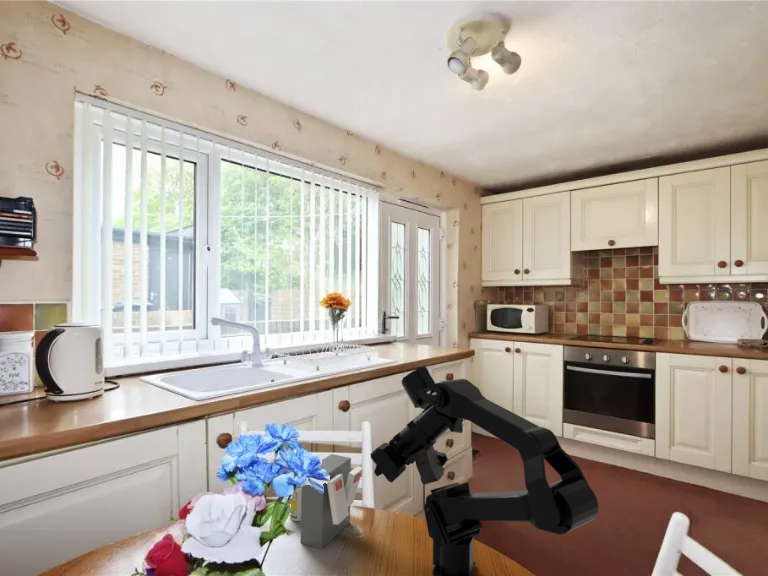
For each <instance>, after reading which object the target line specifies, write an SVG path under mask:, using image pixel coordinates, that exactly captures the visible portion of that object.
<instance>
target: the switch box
mask: <svg viewBox="0 0 768 576" xmlns="http://www.w3.org/2000/svg"><path fill="white" fill-rule="evenodd" d="M321 460H322V467H323V469H325V470H326V471H327V473H328V474H329V475H330V479H332V478H333V477H334V476H336V475H337V474H342V475H343V481H344V488H345V486H346V482H347V478H348V475H349V472H351V471H352V457H348V456H345V455H344V456H343V455H338V454H333V453H331V454H329V455H328V456H326V457H324V458H323V459H321ZM323 486H324V493H323V494H321V493H319V492H317V491H316V490H314V489H313V488H312V487H311V486H310V485H305V486H303V487H302V504H301V521H300V544H303V545H306V546H309V547H313V548H316V549H318V550H319V549H320V550H322V549H324V548H325V547H326V546H327V545H328V544H329V543H330V542H331V541H333V539H335V537H336V536H337V535H339V533H340V532H342V531H343V530H344V529H345V527H347V526H348V525H349V524H350V522H351V505H350V506H349V507H348V513H349V515H348V516H347V517H346V518H345V519H344V520H343V521H342V522H340V523H339V524H333V519H332V513H331V506H330V500H329V493H328V486H327V484H326V483H324V484H323Z"/></svg>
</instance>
